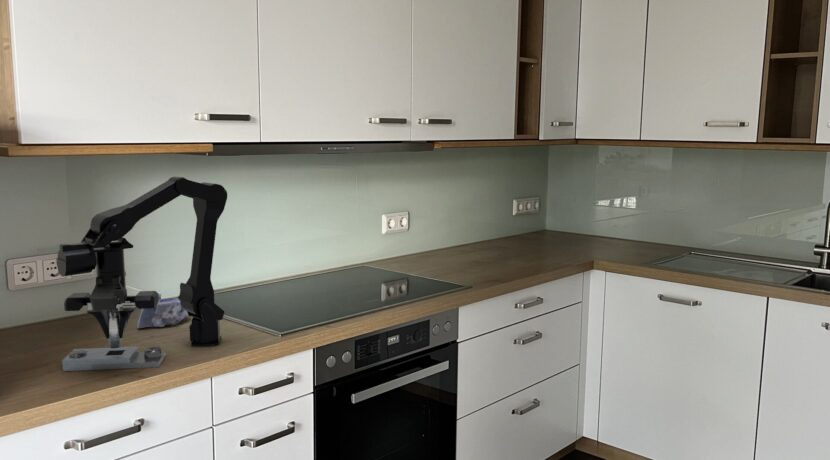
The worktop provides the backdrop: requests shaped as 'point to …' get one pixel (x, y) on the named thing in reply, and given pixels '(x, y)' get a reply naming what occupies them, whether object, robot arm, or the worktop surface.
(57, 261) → the robot arm
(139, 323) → the mineral
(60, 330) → the worktop surface
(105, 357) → the grey bolted bracket plate
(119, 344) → the pin
